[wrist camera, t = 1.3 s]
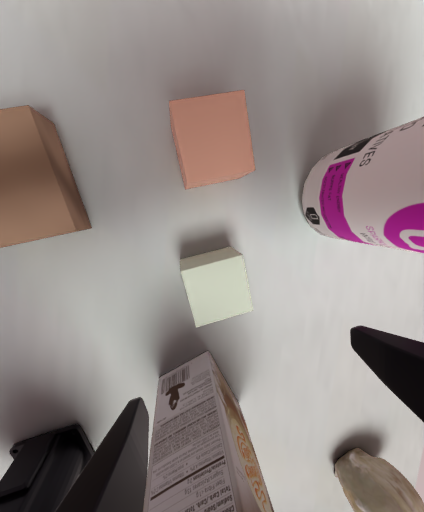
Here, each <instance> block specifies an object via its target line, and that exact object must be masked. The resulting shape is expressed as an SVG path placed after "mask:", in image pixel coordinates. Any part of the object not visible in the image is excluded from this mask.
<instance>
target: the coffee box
mask: <svg viewBox="0 0 424 512" xmlns="http://www.w3.org/2000/svg"><path fill="white" fill-rule="evenodd" d="M143 512H274V510H273V507H272V504H271V501H270V498H269V494H268V491H267V488H266V485H265V482H264V479H263V476H262V473H261V470H260V466H259V463H258V460H257V457H256V454H255V451H254V448H253V445H252V442H251V439H250V436H249V432H248V429H247V426H246V423H245V420H244V417H243V414H242V411H241V408H240V405H239V403H238V402H237V400H236V398H235V396H234V395H233V393H232V391H231V389H230V388H229V386H228V384H227V382H226V381H225V379H224V377H223V375H222V374H221V372H220V370H219V368H218V366H217V365H216V363H215V361H214V359H213V358H212V356H211V354H210V353H209V351H207V352H205V353H203V354H201V355H199V356H197V357H196V358H194V359H192V360H190V361H188V362H187V363H185V364H183V365H181V366H179V367H177V368H176V369H174V370H172V371H170V372H169V373H167V374H165V375H163V376H161V377H160V378H159V382H158V390H157V399H156V407H155V415H154V423H153V433H152V440H151V448H150V457H149V466H148V473H147V482H146V490H145V499H144V507H143Z"/></svg>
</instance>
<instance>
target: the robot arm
mask: <svg viewBox="0 0 424 512" xmlns="http://www.w3.org/2000/svg"><path fill="white" fill-rule="evenodd" d="M350 335H351V346H352V348H353V349H354V351H355V352H356V353H357V354H358V355H359V356H360V357H361V359H362V360H363V361H364V362H365V363H366V364H367V365H368V366H369V367H370V369H371V370H372V371H373V372H374V373H375V374H376V375H377V376H378V378H379V379H380V380H381V381H382V382H383V383H384V384H385V385H386V386H387V387H388V388H389V389H390V390H391V391H392V392H393V393H394V394H395V395H396V396H397V397H398V398H399V399H400V400H401V401H402V402H403V403H404V404H405V405H406V406H407V407H409V408H410V409H411V410H412V411H413V412H414V413H415V414H416V415H417V416H418V417H419V418H420V419H421V420H422V421H423V422H424V343H423V342H419V341H416V340H412V339H408V338H405V337H401V336H397V335H394V334H390V333H386V332H383V331H379V330H376V329H372V328H368V327H365V326H356V327H353V328H351V330H350ZM148 432H149V415H148V411H147V409H146V406H145V404H144V401H143V399H142V398H141V397H138V398H135V399H132V400H130V401H129V402H128V404H127V405H126V407H125V408H124V410H123V411H122V413H121V414H120V416H119V417H118V419H117V420H116V422H115V423H114V425H113V426H112V428H111V429H110V431H109V432H108V434H107V435H106V436H105V438H104V439H103V441H102V442H101V444H100V445H99V447H98V448H97V450H96V451H95V453H94V452H93V450H92V448H91V446H90V444H89V442H88V440H87V438H86V436H85V434H84V432H83V430H82V428H81V427H80V425H77V424H75V425H71V426H68V427H65V428H62V429H59V430H56V431H53V432H50V433H47V434H44V435H40V436H37V437H34V438H31V439H28V440H25V441H22V442H19V443H16V444H14V445H13V447H12V448H11V449H10V454H11V456H12V457H13V459H14V461H13V463H12V464H11V466H10V467H9V469H8V470H7V472H6V473H5V475H4V476H3V478H2V479H1V481H0V512H143V507H144V498H145V489H146V480H147V467H148Z"/></svg>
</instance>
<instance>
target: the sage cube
mask: <svg viewBox="0 0 424 512" xmlns="http://www.w3.org/2000/svg"><path fill="white" fill-rule="evenodd" d="M180 269H181V275H182V278H183V282H184V285H185V289H186V293H187V296H188V300H189V303H190V307H191V311H192V314H193V318H194V321H195V325H196V328H197V327H200V326H203V325H207V324H210V323H213V322H217V321H220V320H223V319H227V318H230V317H233V316H237V315H240V314H243V313H247V312H250V311H253V306H252V301H251V295H250V290H249V285H248V279H247V274H246V269H245V263H244V258H243V255H242V254H241V253H239V252H238V251H236V250H235V249H233V248H232V247H226V248H222V249H219V250H215V251H211V252H207V253H203V254H199V255H195V256H191V257H188V258H184V259H180Z"/></svg>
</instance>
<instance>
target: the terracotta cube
mask: <svg viewBox="0 0 424 512" xmlns="http://www.w3.org/2000/svg"><path fill="white" fill-rule="evenodd" d="M169 108H170V121H171V129H172V133H173V138H174V142H175V146H176V151H177V155H178V159H179V164H180V168H181V173H182V177H183V181H184V186H185V189H189V188H194V187H199V186H204V185H209V184H214V183H219V182H224V181H229V180H234V179H239V178H241V177H243V176H245V175H247V174H249V173H251V172H253V171H255V164H254V157H253V150H252V143H251V135H250V128H249V121H248V114H247V107H246V99H245V92H244V90H240V91H233V92H227V93H220V94H213V95H206V96H199V97H193V98H186V99H179V100H172V101H169Z"/></svg>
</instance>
